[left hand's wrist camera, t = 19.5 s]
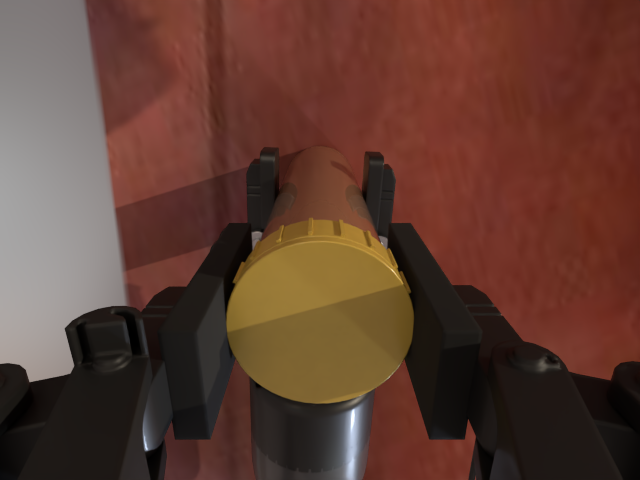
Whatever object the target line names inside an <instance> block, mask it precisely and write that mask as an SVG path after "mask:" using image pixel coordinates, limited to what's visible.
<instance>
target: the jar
mask: <svg viewBox="0 0 640 480" xmlns="http://www.w3.org/2000/svg"><path fill="white" fill-rule="evenodd" d="M309 218H313V220H331V221H338V222H339V219H340V220H343V223H346V224H349V225H352V226H355V227H357V228H359V229H361V230H363V231H365V232H366V231H367V230H368V231H370V233H371V236H372V237H374V238H375V239H377V240H378V241H379V242H380V243H381V241H380V238H379V236H378V233H377V231H376V228H375V226H374V223H373V220H372V218H371V215H370V213H369V210H368V208H367V205H366V203H365V200H364V198H363V195H362V193H361V190H360V187H359V185H358V182H357V180H356V177H355V175H354V172H353V170H352V167H351V165H350V163H349V161H348V160H347V159H346V158H345V157H344V155H342V154H341V153H340V152H338V151H337V150H335V149H332V148H329V147H325V146H315V147H311V148H308V149H305V150H303V151H302V152H300V153H299V154H298V155H297V156H296V157H295V158H294V159H293V160H292V161H291V163H290V165H289V167H288V170H287V172H286V175H285V177H284V180H283V183H282V185H281V188H280V190H279V193H278V195H277V198H276V200H275V203H274V205H273V208H272V210H271V213H270V216H269V218H268V221H267V223H266V226H265V228H264V231H263V233H262V236H261V238H260V242H261V241H262V240H264V239H265V238H266V237H267V236H269V235H270V234H272V233H274V232H275V231H277V230H279V228H280V226H281V225H284V227H286V226H288V225H290V224H294V223H298V222H301V221H309ZM381 244H382V243H381Z"/></svg>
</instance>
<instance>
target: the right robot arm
mask: <svg viewBox="0 0 640 480" xmlns="http://www.w3.org/2000/svg"><path fill="white" fill-rule="evenodd" d="M395 183H396V179H395V176H394V172H393V169H392V168H391V167H390V166H389V165H388V164H384V157H383V155H382V154H381V153H380V152H365V157H364V169H363V182H362V195H363V198H364V200H365V203H366V205H367V208H368V210H369V213H370V215H371V218H372V220H373V223H374V226H375V228H376V231H377V233H378V236H379V238H380V241H381V243H382V245H383V246H384V247H385V248H386V250H387V241H388V226H389V223H391V220H392V211H393V200H394V191H395ZM278 193H279V148H271V147H264V148H263V149H262V151H261V153H260V159H254V160H253V161H252V163H251V164H250V166H249V169H248V171H247V210H248V223H251V230H252V245H253V249H254V247H255V245H256V242H257V241H258V240H259V241H260V238H261V236H262V233H263V231H264V228H265V226H266V223H267V221H268V218H269V216H270V213H271V210H272V208H273V205H274V203H275V200H276V198H277V195H278ZM225 229H226V228H225ZM225 229H224V230H225ZM224 230H223V231H222V232H221V234H220V236H221V235H222V233H223V232H224ZM219 238H220V237H219ZM217 241H218V240H217ZM217 241H216V242H217ZM216 242H215V243H214V244H213V246H212V247H211V250H212V248H213V247H214V245H215V244H216ZM211 250H210V251H211ZM374 394H375V388H374V389H373V390H371V391H369V392H367V393H365V394H363V395H361V396H358V397H355V398H352V399H349V400H345V401H341V402H334V403H305V402H300V401H295V400H291V399H288V398H284V397H282V396H279V395H277V394H275V393H272V392H271V391H269V390H267V389H265V388H264V387H262V386H261V385H259V384H258V383H257V382H255V381H254V380H253V379H252V378H251V377H250V406H251V443H252V462H253V468H254V473H255V477H256V480H363V477H364V473H365V469H366V465H367V459H368V450H369V441H370V431H371V422H372V412H373V403H374Z"/></svg>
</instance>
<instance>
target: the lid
mask: <svg viewBox="0 0 640 480" xmlns="http://www.w3.org/2000/svg"><path fill="white" fill-rule="evenodd" d="M233 283H235V286H234V288H233V291H232V293H231V296H230V299H229V301H228V305H227V310H226V327H227V337H228V342H229V345H230V348H231V350H232V352H233V355H234V357H235V358H236V360H237V362H238V363H239V365H240V366H241V367H242V368H243V370H244V371H245V372H246V373H247V374H248V375H249V376H250V377H251V378H252V379H253V380H254V381H255V382H257V383H258V384H259V385H261V386H262V387H264V388H265V389H267V390H269V391H271V392H272V393H275V394H277V395H279V396H282V397H284V398H288V399H291V400H295V401H300V402H305V403H334V402H341V401H345V400H349V399H352V398H355V397H358V396H361V395H363V394H365V393H367V392H369V391H371V390H373V389H374V388H376V387H378V386H379V385H381V384H382V383H383V382H384V381H386V380H387V379H388V378H389V377H390V376H391V375H392V374H393V373H394V372H395V371H396V370H397V368H398V367H399V366H400V365H401V363H402V362H403V360H404V358H405V356H406V355H407V353H408V350H409V348H410V345H411V342H412V335H413V324H414V310H413V306H412V301H411V298H410V296H409V293H411V290H410V288H409V286H408V283H407V281H406V279H405V277H404V274H403V272H402V271H401V272H399V270H398V266H397V264H396V261H395V259H394V257H393V254H392V252H391V250H390V249H389V248H388V249H387V250H386V248H385V247H384V246H383V245H382V244H381V243H380V242H379V241H378V240H377V239H375V238H374V237H372V236H371V233H370V231H368V230H367V231H366V232H365V231H363V230H361V229H359V228H357V227H355V226H352V225H349V224H346V223H343V220H340V219H339V222H338V221H331V220H313V218H309V221H301V222H298V223H294V224H290V225H288V226H286V227H284V225H281V226H280V228H279V230H277V231H275V232H274V233H272V234H270V235H269V236H267V237H266V238H265V239H264V240H262V241H261V242H260V241H259V240H258V241H257V242H256V245H255V247H254V249H253V251H252V252H251V254H250V255H249V256H248V258H247V260H246V262H245V263H244V262H242V263H241V265H240V267H239V269H238V271H237V274H236V276H235V278H234V280H233Z"/></svg>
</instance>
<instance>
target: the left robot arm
mask: <svg viewBox="0 0 640 480" xmlns="http://www.w3.org/2000/svg"><path fill="white" fill-rule="evenodd" d="M388 248H389V249H390V250H391V252H392V254H393V257H394V259H395V261H396V264H397V266H398V270H399V272H401V271H402V272H403V274H404V277H405V279H406V281H407V283H408V286H409V288H410V290H411V293H409V296H410V298H411V301H412V306H413V310H414V324H413V335H412V342H411V345H410V348H409V350H408V353H407V355H406V356H405V358H404V359H405V362H406V366H407V369H408V372H409V375H410V378H411V382H412V385H413V388H414V391H415V395H416V398H417V401H418V404H419V407H420V411H421V414H422V417H423V420H424V424H425V427H426V430H427V433H428V436H429V439H465V434H466V428H467V422H468V419H469V421H470V424H471V426H472V428H473V430H474V433H475V435H476V440H475V446H474V451H473V457H472V462H471V468H470V474H469V480H475V475H476V480H640V362H634V361H631V362H624V363H620V364H619V365H618V366H616V367H615V369H614V372H613V375H612V378H611V381H610V380H605V379H600V378H595V377H590V376H585V375H580V374H576V373H572V372H569V371H568V369H567V367H566V365H565V364H564V363H563V362H562V360H561V359H560V358H559V357H558V356H557V355H555V354H554V353H552V352H551V351H549V350H548V349H546V348H543V347H541V346H539V345H536V344H533V343H529V342H524V341H523V340H522V339H521V338H520V337H519V335H518V334H517V333H516V332H515V330H514V329H513V328H512V327H511V325H510V324H509V323H508V322H507V320H506V319H505V318H504V317H503V316H501V313H500V312H499V310H498V309H497V308H496V307H494V304H493V303H492V302H491V300H490V299H489V298H488V297H487V295H486V294H484V293H483V292H481V291H480V290H478V289H476V288H475V287H473V286H471V285H452V284H451V283H450V281H449V280H448V278H447V277H446V275H445V274H444V272H443V271H442V269H441V268H440V266H439V265H438V263H437V262H436V260H435V259H434V257H433V256H432V254H431V253H430V251H429V250H428V248H427V247H426V245H425V244H424V242H423V241H422V239H421V238H420V236H419V235H418V233H417V232H416V230H415V229H414V227H413V226H412V224H411V223H389V226H388V241H387V249H388ZM252 251H253V245H252V230H251V223H229V224H228V226H227V227H226V229H225V230H224V232H223V233H222V235H221V236H220V238H219V239H218V241H217V242H216V244H215V245H214V247H213V248H212V250H211V251H210V253H209V254H208V256H207V257H206V259H205V260H204V262H203V263H202V265H201V266H200V268H199V269H198V271H197V272H196V274H195V275H194V277H193V278H192V280H191V281H190V283H189V284H188V286H187V287H168V288H166V289H164V290H163V291H161V292H159V293H158V294H156V295H155V296H154V297H153V298H152V299H151V300H150V302H149V303H148V304H147V305H146V308H144V309H143V310H142V312H140V311H139V310H137V309H136V308H133V307H128V306H111V307H106V308H101V309H97V310H94V311H91V312H88V313H86V314H83V315H81V316H80V317H78V318H76V319H75V320H73V321H72V322H71V323H70V324H69V325H68V326H67V327H66V328H65V331H66V335H67V339H68V343H69V347H70V351H71V354H72V358H73V362H74V368H73V370H72V372H71V374H67V375H64V376H59V377H54V378H49V379H44V380H39V381H34V382H29V379H28V376H27V373H26V370H25V369H24V368H22V367H21V366H20V365H17V364H10V363H6V364H0V480H164V474H165V466H166V458H167V453H166V446H165V440H164V436H165V434H166V432H167V430H168V427H169V425H170V423H171V421H172V424H173V430H174V436H175V439H211V436H212V432H213V429H214V426H215V423H216V419H217V416H218V413H219V410H220V407H221V403H222V400H223V397H224V394H225V390H226V387H227V384H228V381H229V378H230V374H231V371H232V368H233V365H234V361H235V357H234V355H233V352H232V350H231V348H230V345H229V342H228V337H227V327H226V310H227V305H228V301H229V299H230V296H231V293H232V291H233V288H234V286H235V283H233V280H234V278H235V276H236V274H237V271H238V269H239V267H240V265H241V263H242V262H244V263H245V262H246V260H247V258H248V256H249V255H250V254H251V252H252Z"/></svg>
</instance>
